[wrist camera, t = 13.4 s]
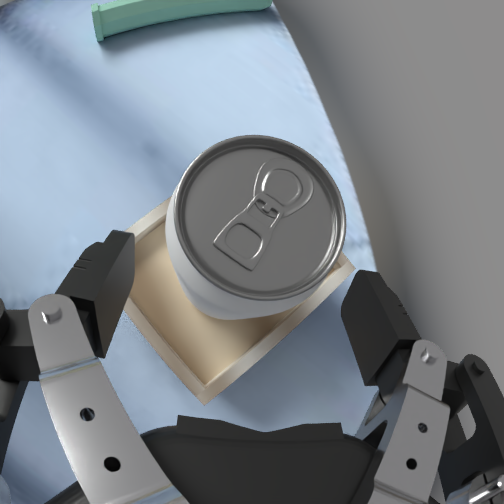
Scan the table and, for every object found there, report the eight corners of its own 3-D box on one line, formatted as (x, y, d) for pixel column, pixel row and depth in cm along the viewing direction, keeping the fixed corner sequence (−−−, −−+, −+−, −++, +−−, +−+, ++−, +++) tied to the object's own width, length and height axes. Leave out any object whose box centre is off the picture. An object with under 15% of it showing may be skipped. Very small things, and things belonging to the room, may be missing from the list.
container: (271, -27, 30) (90, -3, 23) (284, 0, 31) (94, 28, 25) (257, -7, 35) (94, 19, 29) (268, 20, 37) (99, 50, 30)
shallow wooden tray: (202, 387, 23) (204, 405, 18) (111, 273, 24) (89, 259, 18) (325, 279, 27) (355, 268, 22) (238, 177, 28) (248, 144, 22)
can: (290, 261, 22) (383, 197, 11) (239, 338, 20) (295, 357, 9) (215, 209, 22) (239, 96, 10) (160, 282, 20) (116, 230, 9)
